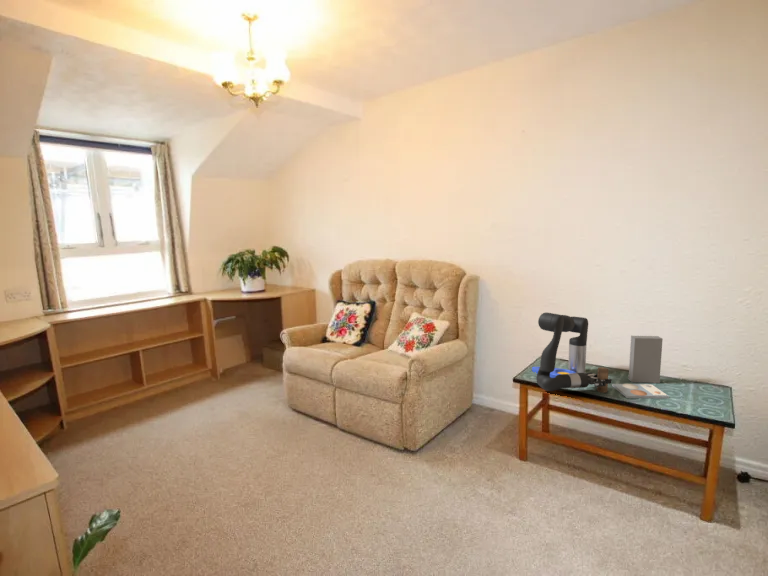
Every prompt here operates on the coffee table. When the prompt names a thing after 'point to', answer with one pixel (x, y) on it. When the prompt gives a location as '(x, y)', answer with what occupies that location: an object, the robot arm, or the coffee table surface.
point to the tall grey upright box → (645, 359)
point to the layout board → (639, 391)
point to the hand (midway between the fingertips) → (606, 378)
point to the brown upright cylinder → (603, 375)
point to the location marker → (555, 371)
